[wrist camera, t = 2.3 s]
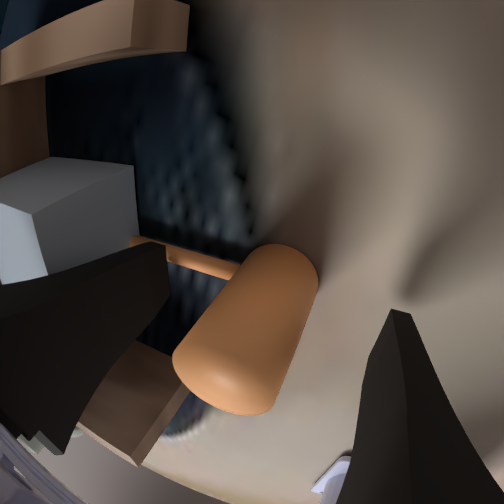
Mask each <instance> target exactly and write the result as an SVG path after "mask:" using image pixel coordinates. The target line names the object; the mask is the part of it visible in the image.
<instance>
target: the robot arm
mask: <svg viewBox="0 0 504 504" xmlns="http://www.w3.org/2000/svg"><path fill="white" fill-rule="evenodd" d="M169 296H170V287H169V277H168V266H167V255H166V245H162V244H159V243H156V242H152V241H150V242H146V243H142V244H139V245H135V246H132V247H129V248H127V249H124V250H121V251H118V252H115V253H112V254H110V255H107V256H104V257H101V258H99V259H96V260H93V261H90V262H87V263H84V264H82V265H79V266H76V267H73V268H70V269H67V270H64V271H61V272H57V273H54V274H50V275H47V276H43V277H39V278H35V279H30V280H25V281H20V282H14V283H9V284H3V285H0V504H52V503H53V504H88V503H87V502H85V501H84V500H83V499H82V498H80V497H79V496H78V495H76V494H75V493H74V492H73V491H71V490H70V489H69V488H68V487H66V486H65V485H64V484H63V483H61V482H60V481H59V480H58V479H57V478H56V477H55V476H53V475H52V474H51V473H50V472H49V471H48V470H47V469H46V468H45V467H43V466H42V465H41V464H40V463H39V462H38V461H37V460H36V459H35V458H34V457H33V456H32V455H31V454H30V453H29V452H28V451H27V450H26V449H25V448H24V447H23V446H22V445H21V444H20V443H19V442H18V441H17V440H16V439H17V438H18V437H19V436H20V435H21V434H22V435H23V436H24V437H25V438H26V439H27V440H28V441H31V439H32V438H33V437H35V438H36V439H38V440H39V441H40V442H41V443H42V444H43V445H44V446H45V447H46V448H47V449H48V450H49V451H51V452H52V453H53V454H54V455H63V454H64V453H65V450H66V447H67V445H68V443H69V440H70V438H71V436H72V433H73V431H74V429H75V427H76V425H77V423H78V421H79V419H80V417H81V415H82V413H83V411H84V409H85V407H86V406H87V404H88V402H89V401H90V399H91V397H92V396H93V394H94V392H95V391H96V389H97V388H98V386H99V385H100V383H101V382H102V380H103V379H104V377H105V376H106V374H107V373H108V371H109V370H110V368H111V367H112V366H113V365H114V363H115V362H116V361H117V360H118V359H119V357H120V356H121V355H122V354H123V353H124V352H125V351H126V349H127V348H128V347H129V346H130V345H131V344H132V343H133V342H134V341H135V339H136V338H137V337H138V336H139V335H140V334H141V333H142V332H143V330H144V329H145V328H146V327H147V326H148V325H149V324H150V322H151V321H152V320H153V319H154V318H155V317H156V315H157V314H158V312H159V311H160V309H161V308H162V306H163V305H164V303H165V302H166V300H167V299H168V297H169ZM14 466H15V467H16V468H17V469H18V470H19V471H20V472H21V473H22V474H23V475H24V476H25V477H26V478H24V477H23V476H22V475H20V474H19V473H18V472H16V471H15V470H14ZM311 491H312V492H315V493H320V494H322V497H321V500H320V503H319V504H504V492H503V491H502V489H501V488H500V487H499V485H498V484H497V482H496V481H495V480H494V478H493V477H492V475H491V474H490V472H489V471H488V469H487V468H486V466H485V465H484V463H483V461H482V460H481V458H480V457H479V455H478V453H477V452H476V450H475V449H474V447H473V445H472V444H471V442H470V440H469V438H468V437H467V435H466V433H465V431H464V429H463V427H462V425H461V424H460V422H459V420H458V418H457V416H456V414H455V412H454V410H453V409H452V407H451V405H450V402H449V400H448V398H447V396H446V394H445V392H444V390H443V388H442V386H441V383H440V381H439V379H438V377H437V374H436V372H435V370H434V367H433V365H432V363H431V361H430V358H429V356H428V354H427V351H426V349H425V346H424V344H423V342H422V339H421V337H420V335H419V332H418V330H417V327H416V325H415V323H414V321H413V318H412V316H411V314H409V313H406V312H402V311H398V310H394V309H391V310H390V312H389V315H388V317H387V319H386V321H385V324H384V326H383V328H382V330H381V332H380V334H379V336H378V339H377V341H376V343H375V345H374V347H373V349H372V351H371V353H370V355H369V357H368V362H367V367H366V371H365V375H364V380H363V384H362V391H361V399H360V406H359V414H358V421H357V427H356V434H355V440H354V446H353V451H352V455H351V456H342V457H340V458H339V459H338V460H337V461H336V462H335V463H334V464H333V465H332V466H331V467H330V469H329V470H328V471H327V472H326V473H325V474H324V475H323V476H322V477H321V478H320V479H319V480H318V481H317V482H316V483H315V484H314V485H313V486H312V488H311Z"/></svg>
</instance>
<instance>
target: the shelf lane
mask: <svg viewBox="0 0 504 504" xmlns="http://www.w3.org/2000/svg"><path fill="white" fill-rule="evenodd" d="M189 11H190V5H188V4H185V3H182V2H178V1H175V0H103V1H100V2H98V3H95V4H92V5H90V6H87V7H85V8H82V9H80V10H78V11H75V12H73V13H71V14H68V15H66V16H64V17H62V18H60V19H57V20H55V21H53V22H51V23H49V24H47V25H45V26H43V27H41V28H39V29H37V30H36V31H34V32H32V33H30V34H28V35H26V36H25V37H23V38H21V39H19V40H18V41H16V42H14V43H13V44H11V45H9V46H8V47H6V48H5V49H3V50H1V51H0V178H2V177H4V176H7V175H9V174H11V173H13V172H15V171H18V170H20V169H22V168H25V167H27V166H29V165H32V164H34V163H37V162H39V161H42V160H44V159H47V158H49V157H50V153H49V143H48V132H47V118H46V95H45V76H47V75H51V74H54V73H58V72H61V71H65V70H69V69H73V68H77V67H82V66H86V65H91V64H95V63H100V62H105V61H111V60H116V59H122V58H129V57H135V56H143V55H151V54H160V53H170V52H183V51H186V48H187V34H188V22H189ZM0 285H2V283H1V280H0ZM190 391H191V390H189V389H188V388H187V387H186V385H185V384H184V383H183V382H182V381H181V379H180V378H179V377H178V375H177V373H176V371H175V369H174V366H173V362H172V357H171V356H169V355H166V354H164V353H162V352H160V351H158V350H156V349H153V348H151V347H149V346H147V345H145V344H143V343H141V342H139V341H137V340H135V341H134V342H133V343H132V344H131V345H130V346H129V347H128V348H127V349H126V351H125V352H124V353H123V354H122V355H121V356H120V357H119V359H118V360H117V361H116V362H115V363H114V365H113V366H112V367H111V368H110V370H109V371H108V373H107V374H106V376H105V377H104V379H103V380H102V382H101V383H100V385H99V386H98V388H97V389H96V391H95V392H94V394H93V396H92V397H91V399H90V401H89V402H88V404H87V406H86V407H85V409H84V411H83V413H82V415H81V417H80V419H79V421H78V423H77V425H76V426H77V427H78V428H80V429H81V430H82V431H84V432H86V433H87V434H88V435H89V436H91V437H92V438H94V439H95V440H96V441H98V442H99V443H101V444H102V445H104V446H105V447H107V448H108V449H110V450H111V451H113V452H114V453H116V454H117V455H119V456H120V457H122V458H124V459H125V460H127V461H129V462H130V463H132V464H133V465H135V466H137V467H139V466H140V465H141V463H142V462H143V460H144V459H145V457H146V456H147V454H148V453H149V452H150V450H151V449H152V447H153V446H154V444H155V443H156V441H157V440H158V438H159V437H160V435H161V434H162V432H163V431H164V430H165V428H166V427H167V425H168V424H169V422H170V421H171V419H172V418H173V416H174V415H175V413H176V412H177V410H178V409H179V407H180V406H181V404H182V403H183V401H184V400H185V398H186V397H187V395H188V394H189V392H190Z"/></svg>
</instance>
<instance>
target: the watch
mask: <svg viewBox="0 0 504 504" xmlns="http://www.w3.org/2000/svg"><path fill="white" fill-rule="evenodd" d="M7 3H8V0H0V32H1V27H2V23H3V18H4V14H5V10H6V6H7Z"/></svg>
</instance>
